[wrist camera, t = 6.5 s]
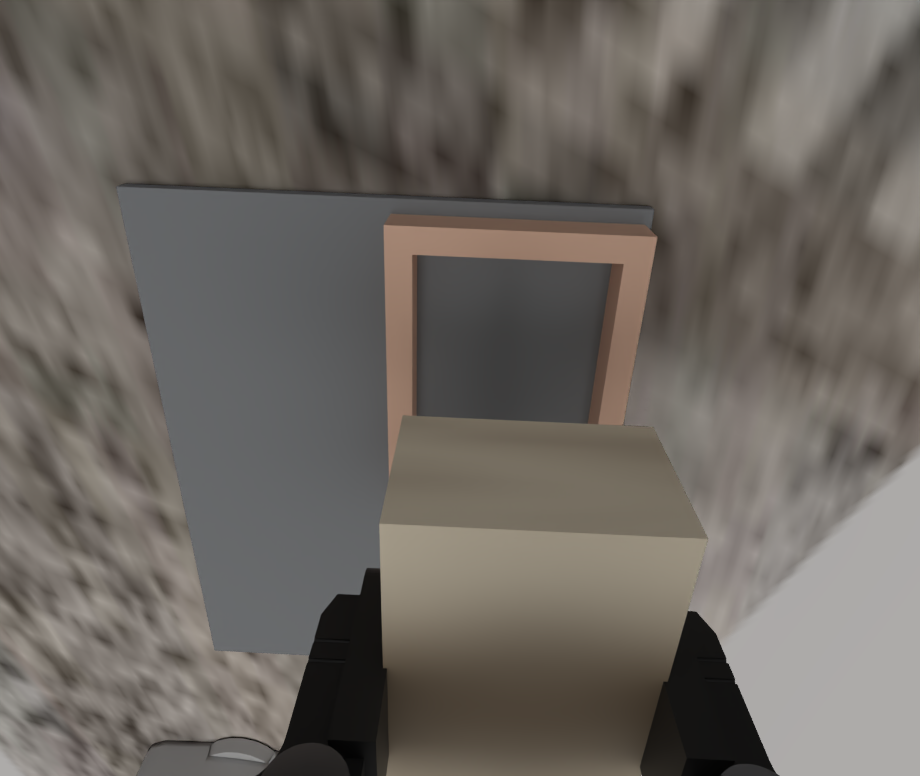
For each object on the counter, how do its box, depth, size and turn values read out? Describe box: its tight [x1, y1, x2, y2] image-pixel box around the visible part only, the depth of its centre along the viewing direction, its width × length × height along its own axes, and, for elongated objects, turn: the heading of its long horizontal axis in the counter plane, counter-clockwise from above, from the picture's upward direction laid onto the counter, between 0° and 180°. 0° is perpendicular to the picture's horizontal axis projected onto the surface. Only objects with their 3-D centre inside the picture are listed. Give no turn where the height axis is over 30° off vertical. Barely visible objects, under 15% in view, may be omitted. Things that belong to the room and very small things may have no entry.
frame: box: [384, 214, 657, 476], centre depth 20 cm, size 11×8×2 cm
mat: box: [116, 184, 654, 655], centre depth 23 cm, size 20×16×1 cm
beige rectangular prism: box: [379, 415, 708, 776], centre depth 12 cm, size 8×4×3 cm, turn 178°
